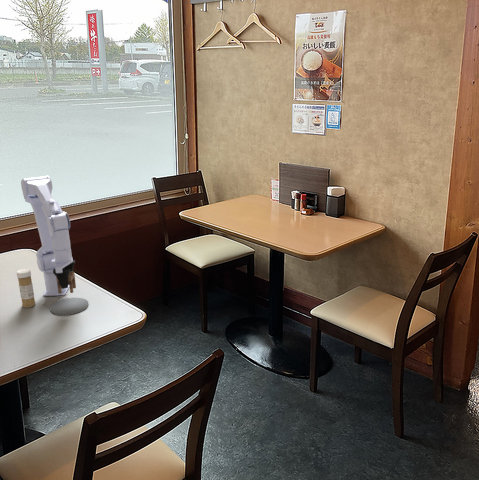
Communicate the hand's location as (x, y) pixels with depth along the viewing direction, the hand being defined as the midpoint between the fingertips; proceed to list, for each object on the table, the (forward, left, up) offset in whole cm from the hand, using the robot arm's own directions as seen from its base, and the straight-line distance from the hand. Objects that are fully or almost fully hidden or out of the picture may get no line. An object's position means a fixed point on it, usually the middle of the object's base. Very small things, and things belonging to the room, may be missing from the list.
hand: (66, 284), depth 179 cm
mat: (0, 0, -9) cm, 9 cm away
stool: (0, 0, -2) cm, 2 cm away
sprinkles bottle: (-3, -15, -9) cm, 18 cm away
